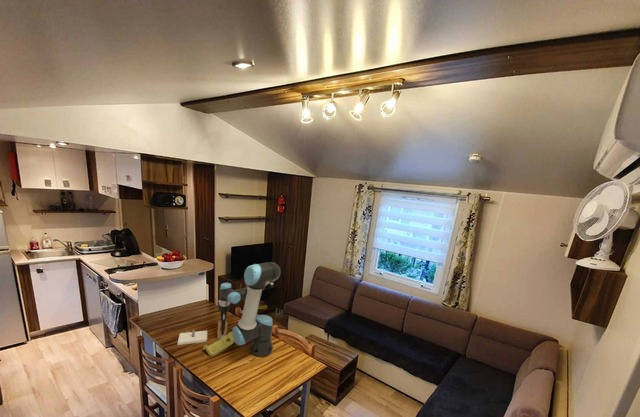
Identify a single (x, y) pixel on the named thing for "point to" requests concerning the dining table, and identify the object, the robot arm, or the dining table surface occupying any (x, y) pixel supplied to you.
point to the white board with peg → (192, 337)
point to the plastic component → (220, 345)
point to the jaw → (220, 328)
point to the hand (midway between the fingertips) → (221, 335)
